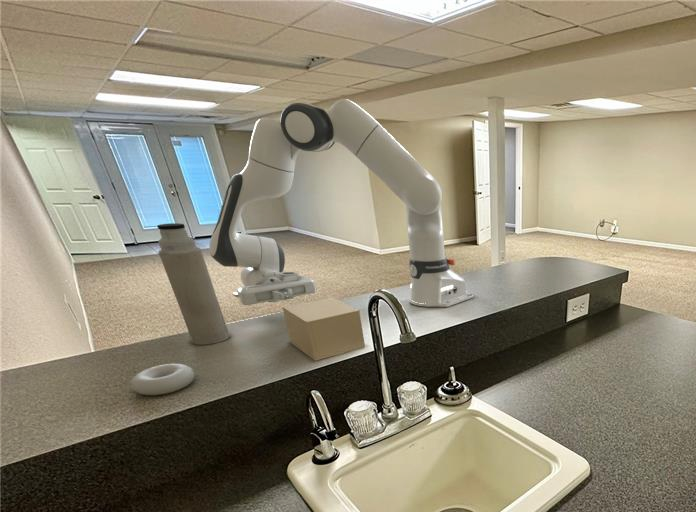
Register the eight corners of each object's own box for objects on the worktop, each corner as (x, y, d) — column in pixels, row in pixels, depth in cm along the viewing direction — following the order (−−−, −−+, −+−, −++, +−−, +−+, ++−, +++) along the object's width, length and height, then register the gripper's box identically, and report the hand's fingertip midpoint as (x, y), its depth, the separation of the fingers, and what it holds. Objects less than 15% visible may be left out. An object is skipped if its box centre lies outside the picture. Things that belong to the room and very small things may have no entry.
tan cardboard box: (291, 343, 103) (282, 307, 99) (339, 331, 111) (332, 297, 107) (315, 360, 94) (306, 322, 90) (365, 346, 102) (359, 310, 98)
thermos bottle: (208, 332, 108) (169, 221, 95) (236, 334, 108) (200, 222, 94) (184, 343, 101) (138, 225, 88) (214, 345, 101) (172, 226, 87)
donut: (204, 385, 83) (187, 370, 89) (198, 371, 81) (182, 356, 87) (143, 404, 76) (129, 386, 82) (135, 388, 75) (122, 371, 80)
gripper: (227, 282, 113) (242, 292, 105) (302, 271, 126) (321, 279, 118) (234, 304, 116) (249, 315, 108) (306, 291, 129) (325, 300, 121)
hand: (287, 296), depth 113 cm, fingers closed
